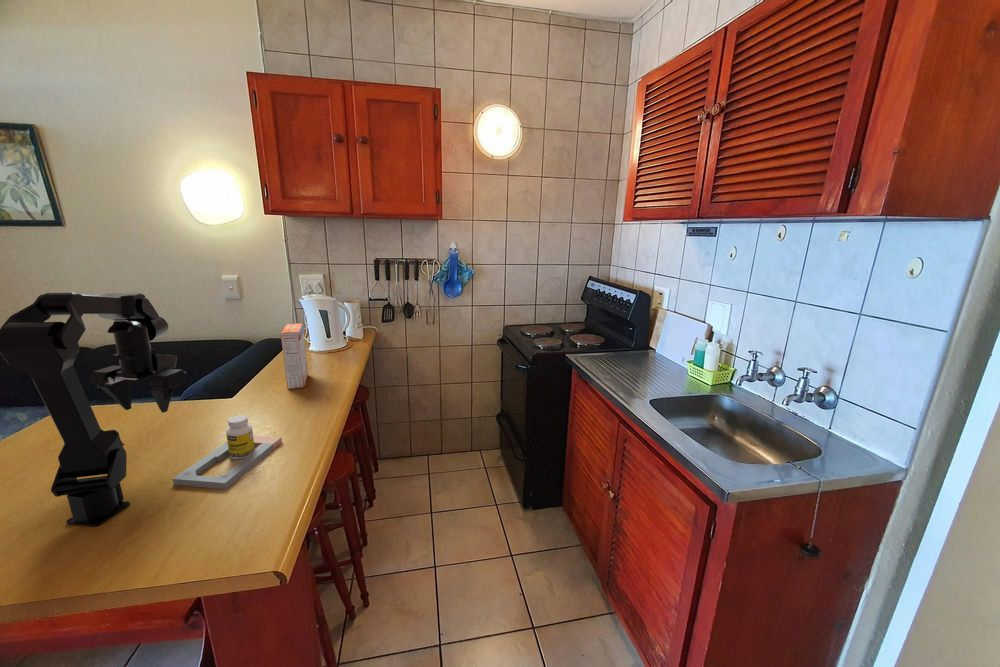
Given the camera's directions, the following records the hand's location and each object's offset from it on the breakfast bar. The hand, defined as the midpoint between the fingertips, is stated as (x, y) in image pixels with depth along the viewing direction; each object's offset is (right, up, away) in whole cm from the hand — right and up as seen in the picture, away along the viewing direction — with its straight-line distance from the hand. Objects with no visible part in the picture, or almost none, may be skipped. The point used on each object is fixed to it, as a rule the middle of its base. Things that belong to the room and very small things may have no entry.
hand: (146, 410), depth 93 cm
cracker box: (+9, 0, +52) cm, 53 cm away
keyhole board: (+19, -13, +2) cm, 23 cm away
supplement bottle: (+20, -12, +5) cm, 24 cm away
